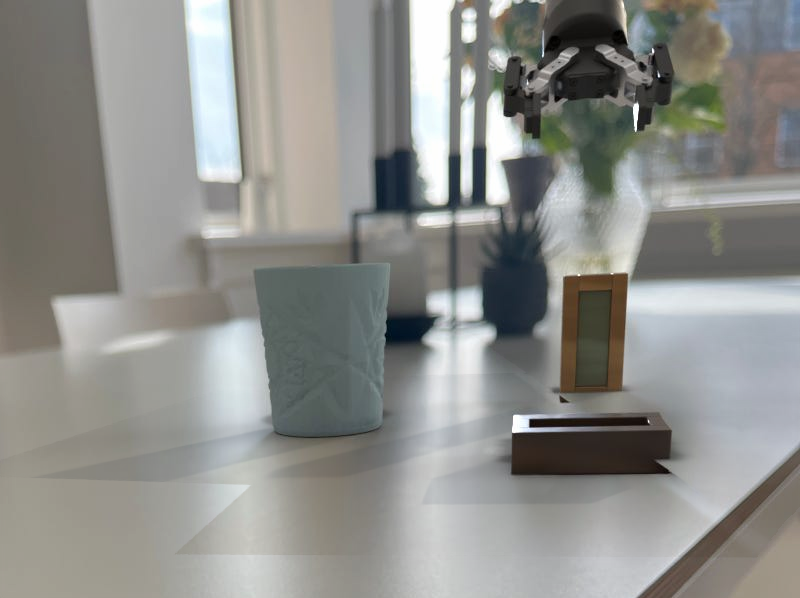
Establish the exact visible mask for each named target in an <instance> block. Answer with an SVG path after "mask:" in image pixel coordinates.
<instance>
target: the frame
mask: <svg viewBox="0 0 800 598" xmlns="http://www.w3.org/2000/svg"><path fill="white" fill-rule="evenodd" d="M628 286H629V273H628V272H626V271H624V272H604V273H580V274H563V275H562V297H561V299H562V302H561V327H560V328H561V330H560V331H561V332H560V359H559V389H558V390H559V393H592V392H596V393H597V392H622V391H623V384H624V383H623V380H624V364H625V363H624V362H625V344H626V324H627V307H628V306H627V304H628V288H629V287H628ZM558 400H559V403H569V402H570V401H569V400H568V399H566V398H564V397H563V396H562V395H560V394H559V395H558Z"/></svg>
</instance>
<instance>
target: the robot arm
mask: <svg viewBox="0 0 800 598" xmlns="http://www.w3.org/2000/svg"><path fill="white" fill-rule="evenodd" d="M627 15H628V14H627V11H626V8H625V5H624V0H545V12H544V15H543V19H542V20H543V21H542V25H541V30H542V57H541V58H540V59H539V60H538V62H537V63H534V64H526V63H524V62H522V57H521V56H518V55H513V56H510V57H508V59H507V63H506V69H505V75H504V81H503V85H502V86H503V87H502V88H503V89H502V90H503V91H502V92H503V108H502V109H503V110H502V112H503V113H502V114H503V117H504V118H513V117H515V116H517V115H518V114H521V115H523V132H524V133H525V134H531V140H540V139H541V127H542V125H541V122H542V114H543V113H545V112H548V113H552V112H553V111H554V110H556V109H557V108H559V107H560V106H561V105H563V104H564V103H565V102H572V101H573V102H574V101H580V100H584V99H589V100H599V99H605V100H606V101H609V102H610V103H612V104H614V105H616V106H617V107H619V108H621V107H624V106H626V105H627V106H628V107H630V108H632V109H633V122H634V130H635V133H637V132H638V133H639V132H645V129H646V126H649V125H652V123H653V121H654V114H655V113H654V112H655V103H656V105H658V106H661V107H664V106H665V107H666V106H669V105H670V104H671V102H672V95H673V88H674V81H675V69H674V65H673V62H672V58H671V54H670V50H669V47H668V45H667V44H665V43H661V42H659V43H656V44H654V45H653V46H652V50H651V51H652V52H649V53H647V54H639V55H636V54H635V51H633V50H631V49H630V48H629V38H628V29H627V28H628V27H627V23H628V17H627Z"/></svg>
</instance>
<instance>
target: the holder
mask: <svg viewBox="0 0 800 598" xmlns="http://www.w3.org/2000/svg"><path fill="white" fill-rule="evenodd" d="M511 429H512V430H511V458H510V459H511V461H510V463H511V466H510V467H511V469H510V474H511V475H584V474H585V475H589V474H591V475H592V474H593V475H594V474H595V475H597V474H599V475H600V474H601V475H602V474H668V473H670V470H669V468H667V467H665V466H664V465H662V464H661V463H660V462H658V461H657V460H670V459H671V450H672V449H671V448H672V439H673V438H672V435H673V430H672V428H671V426H670V425H669V424H668V423H667V422H666V420H665V419H664V417H663V415H662V414H661V413H660V412H659V411H653V412H651V411H650V412H645V411H644V412H603V413H599V412H598V413H597V412H595V413H553V414H552V413H551V414H514V415H513V419H512V427H511Z"/></svg>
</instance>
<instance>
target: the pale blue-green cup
mask: <svg viewBox="0 0 800 598" xmlns="http://www.w3.org/2000/svg"><path fill="white" fill-rule="evenodd" d="M390 278H391V263H390V262H364V263H362V262H361V263H342V264H341V263H340V264H339V263H337V264H317V265H292V266H291V265H290V266H272V267H271V266H269V267H257V268H253V280H254V287H255V293H256V299H257V305H258V308H259V309H258V310H259V321H260V329H261V335H262V337H263V338H262V339H263V347H264V360H265V368H266V373H267V378H268V380H269V381H268V390H269V400H270V407H271V408H270V409H271V419H272V420H271V421H272V427H273V430H274V432H275V433H276V434H278V435H283V436H289V437H290V436H291V437H299V438H300V437H301V438H302V437H303V438H304V437H306V438H323V437H325V438H326V437H338V436H349V435H356V434H362V433H367V432H370V431H371V432H372V431H374V430H377V429H379V428H381V425H382V423H383V411H384V410H383V409H384V408H383V407H384V406H383V405H384V404H383V397H384V389H385V387H384V385H385V379H384V374H385V367H384V364H385V357H386V356H385V346H386V342H387V341H386V339H387V338H386V336H385V334H386V333H387V323H386V321H387V320H388V311H387V307H388V304H389V303H388V302H389V293H390V280H391V279H390Z"/></svg>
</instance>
